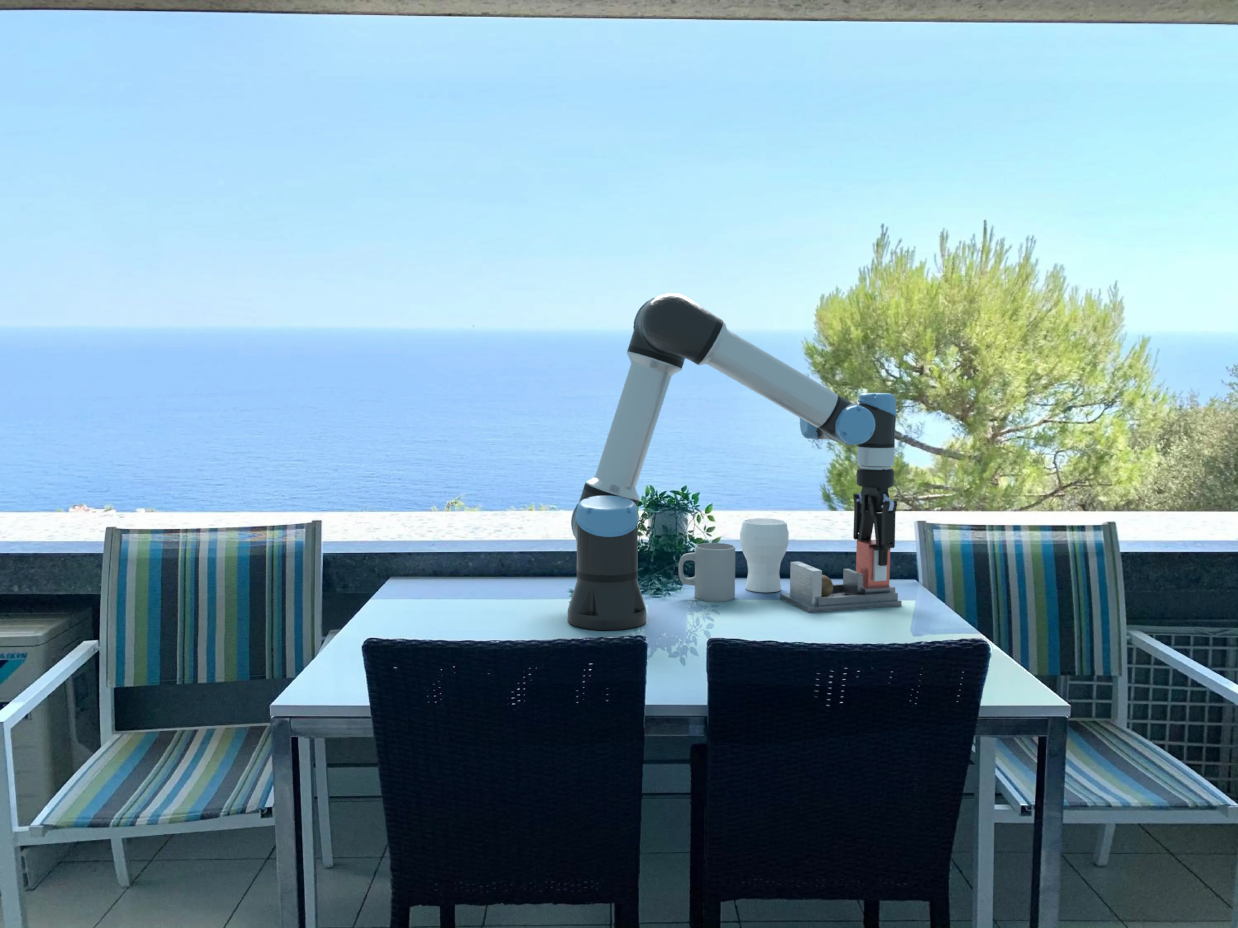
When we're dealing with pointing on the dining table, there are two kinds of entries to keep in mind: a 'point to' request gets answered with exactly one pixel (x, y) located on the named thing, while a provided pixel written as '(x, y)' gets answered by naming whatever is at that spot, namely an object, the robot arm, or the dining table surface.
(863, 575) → the block
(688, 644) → the dining table surface
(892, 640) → the dining table surface
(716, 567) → the mug
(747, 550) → the cup
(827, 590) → the nut
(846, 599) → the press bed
